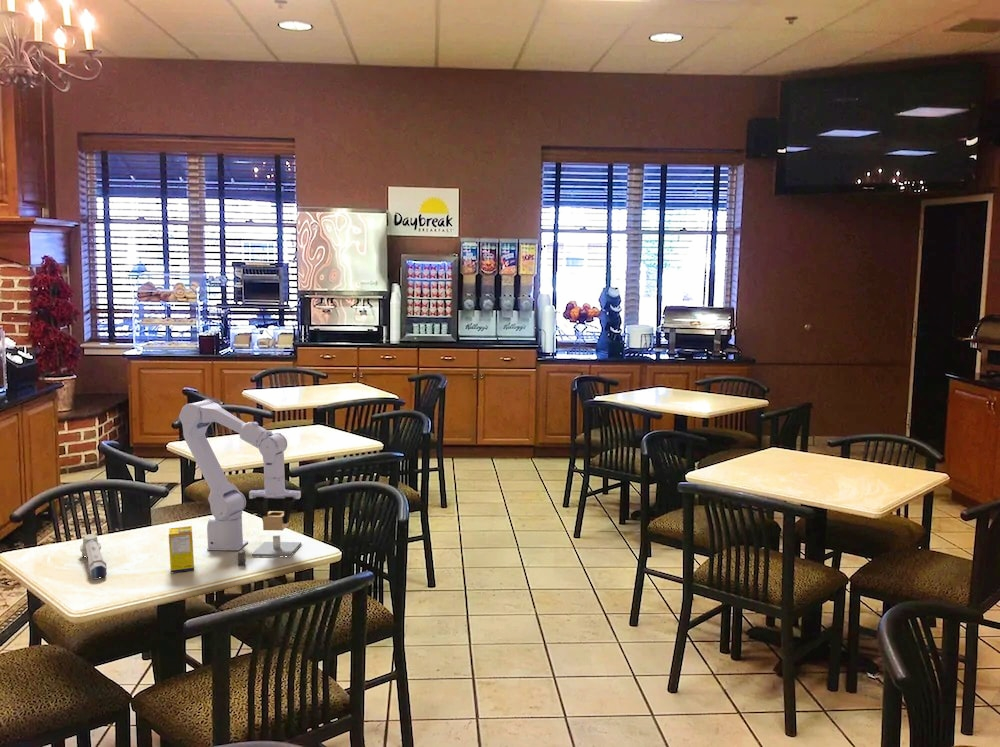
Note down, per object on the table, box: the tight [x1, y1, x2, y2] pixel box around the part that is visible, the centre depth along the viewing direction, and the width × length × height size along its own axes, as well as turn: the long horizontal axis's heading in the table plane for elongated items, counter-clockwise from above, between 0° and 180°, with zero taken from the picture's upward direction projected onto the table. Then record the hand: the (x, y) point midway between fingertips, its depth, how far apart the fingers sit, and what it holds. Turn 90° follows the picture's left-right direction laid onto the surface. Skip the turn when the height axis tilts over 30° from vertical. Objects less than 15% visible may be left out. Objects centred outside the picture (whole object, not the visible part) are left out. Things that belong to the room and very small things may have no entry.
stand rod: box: [236, 550, 246, 567], centre depth 231 cm, size 2×2×4 cm
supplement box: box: [168, 525, 195, 573], centre depth 227 cm, size 6×6×11 cm
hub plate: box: [251, 534, 302, 558], centre depth 242 cm, size 11×11×4 cm
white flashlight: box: [79, 533, 108, 579], centre depth 231 cm, size 5×7×25 cm
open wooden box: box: [262, 510, 290, 531], centre depth 241 cm, size 6×6×4 cm
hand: (276, 522), depth 241 cm, fingers closed on open wooden box, 6 cm apart
